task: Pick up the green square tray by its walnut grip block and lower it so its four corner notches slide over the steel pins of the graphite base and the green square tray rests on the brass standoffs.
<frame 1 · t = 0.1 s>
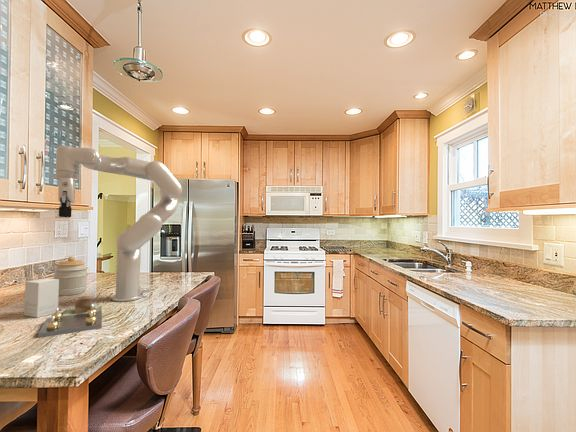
hand: (65, 217, 120), 37 cm above the kitchen counter, tool pointing down, fingers open, 9 cm apart
green square tray: (83, 312, 112), on the kitchen counter
jar: (69, 293, 141), on the kitchen counter
standoff base: (73, 324, 97), on the kitchen counter
supplement box: (41, 314, 108), on the kitchen counter
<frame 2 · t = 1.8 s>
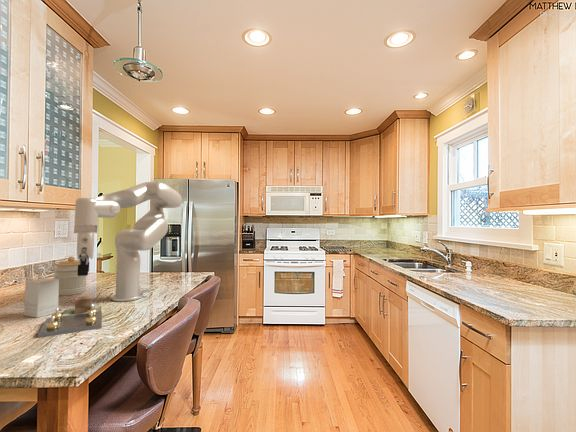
hand: (83, 273, 112), 15 cm above the kitchen counter, tool pointing down, fingers open, 9 cm apart
nothing on the kitchen counter moved.
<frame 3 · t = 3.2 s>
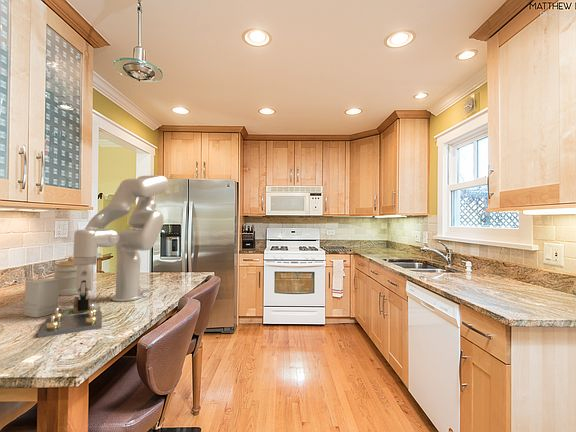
hand: (83, 307, 112), 1 cm above the kitchen counter, tool pointing down, fingers closed on green square tray, 5 cm apart
green square tray: (81, 312, 112), on the kitchen counter, touching gripper
everything else where it was.
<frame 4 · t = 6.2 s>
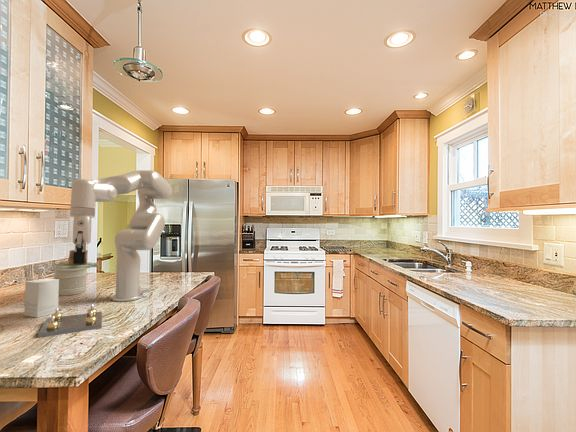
hand: (79, 262, 105), 20 cm above the kitchen counter, tool pointing down, fingers closed on green square tray, 5 cm apart
green square tray: (78, 266, 105), point 18 cm above the kitchen counter, touching gripper
everything else where it was.
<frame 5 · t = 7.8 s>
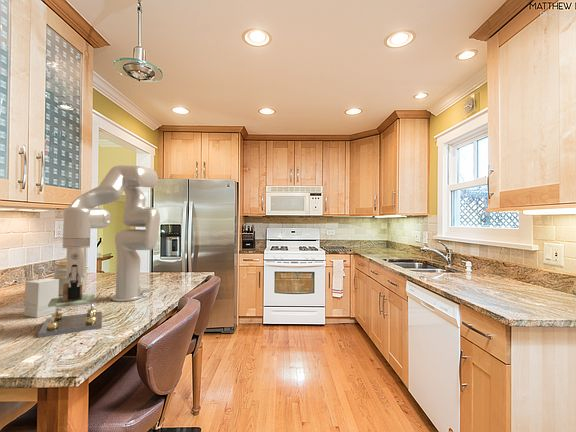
hand: (74, 296, 98), 9 cm above the kitchen counter, tool pointing down, fingers closed on green square tray, 5 cm apart
green square tray: (72, 301, 97), point 8 cm above the kitchen counter, touching gripper
everything else where it was.
when the fingers open (5 cm above the kitchen counter, at t = 9.1 s): green square tray stays where it is, resting on standoff base.
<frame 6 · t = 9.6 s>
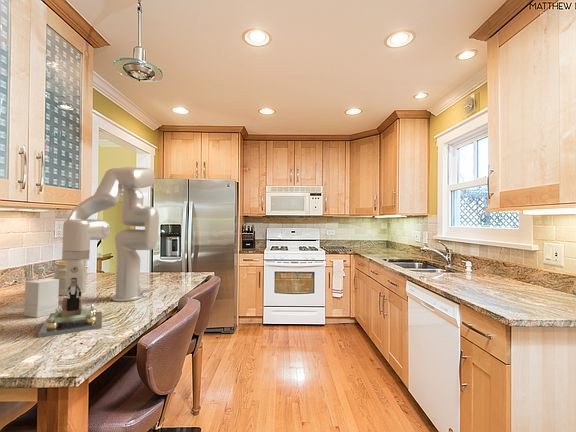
hand: (74, 306, 97), 6 cm above the kitchen counter, tool pointing down, fingers open, 9 cm apart
green square tray: (71, 316, 97), point 3 cm above the kitchen counter, touching standoff base
everything else where it was.
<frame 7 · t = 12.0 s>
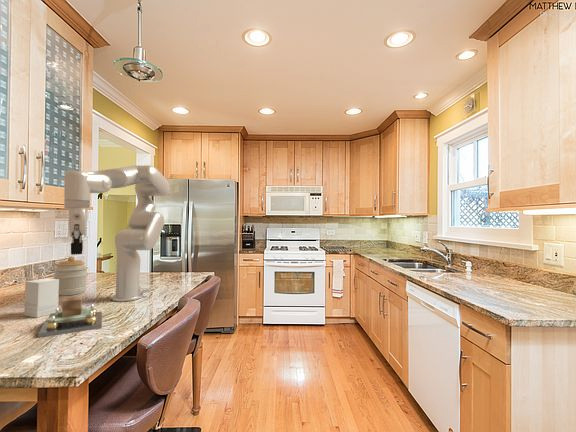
hand: (77, 252, 105), 24 cm above the kitchen counter, tool pointing down, fingers open, 9 cm apart
nothing on the kitchen counter moved.
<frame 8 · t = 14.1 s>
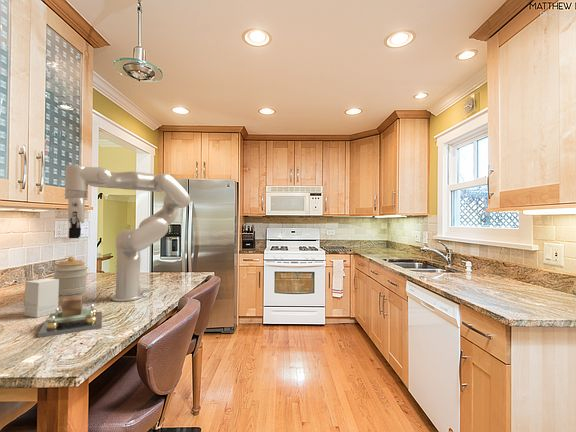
hand: (74, 237, 117), 28 cm above the kitchen counter, tool pointing down, fingers open, 9 cm apart
nothing on the kitchen counter moved.
at the end: green square tray 0.5 cm off-centre on the standoff base, point 3.0 cm above the standoff base's base; green square tray tilted 0°; the gripper is holding nothing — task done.
